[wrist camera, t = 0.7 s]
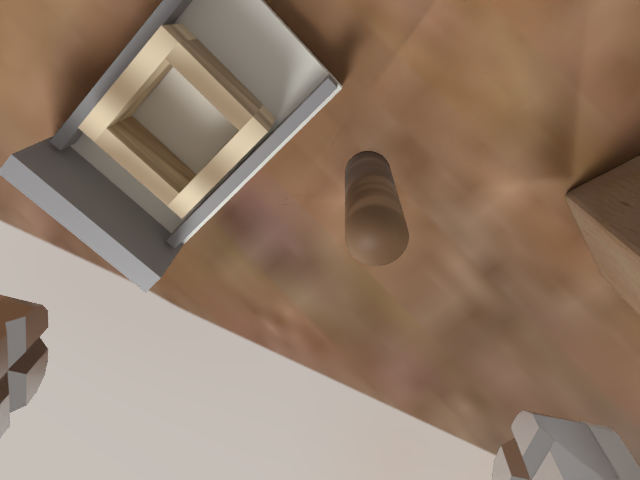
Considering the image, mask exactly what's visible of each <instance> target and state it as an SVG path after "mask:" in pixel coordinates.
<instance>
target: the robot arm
mask: <svg viewBox="0 0 640 480" xmlns="http://www.w3.org/2000/svg"><path fill="white" fill-rule="evenodd" d="M47 328H48V310H47V309H46V308H45V307H44V306H43V305H40V304H36V303H32V302H28V301H23V300H19V299H15V298H11V297H7V296H2V295H0V438H1V436H2V435H3V434H4V433H5V431H6V430H7V429H8V428H9V426H10V416H9V415H10V414H9V413H10V412H13V411H15V410H17V409H19V408H21V407H24V406H26V405H27V404H28V403H29V401H30V400H31V399H32V397H33V396H34V395H35V393H36V392H37V390H38V388H39V386H40V383H41V381H42V379H43V377H44V375H45V371H46V366H47V362H48V348H47V347H46V346H45V344H44V343H43V341H42V340H41V339H40V336H41V334H42V333H43V332H44V331H45V330H46V329H47ZM511 429H512V432H513V435H514V438H513V439H512V440H510V441H508V442H506V443H505V444H503V445H501V447H500V449H499V451H498V453H497V455H496V457H495V460H494V466H493V474H492V478H493V480H640V468H639V466H638V465H637V463H636V462H635V460H634V458H633V457H632V455H631V454H630V452H629V451H628V449H627V448H626V446H625V445H624V443H623V441H622V440H621V438H620V437H619V435H618V434H617V433H616V432H615V431H614V430H612V429H611V428H610V427H608V426H603V425H597V424H592V423H587V422H582V421H580V422H577V421H572V420H568V419H563V418H558V417H553V416H549V415H544V414H539V413H535V412H530V411H525V410H523V411H522V412H521V413H520V414H518V415H517V416H516V418H515V420H514V422H513V424H512V426H511Z"/></svg>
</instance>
